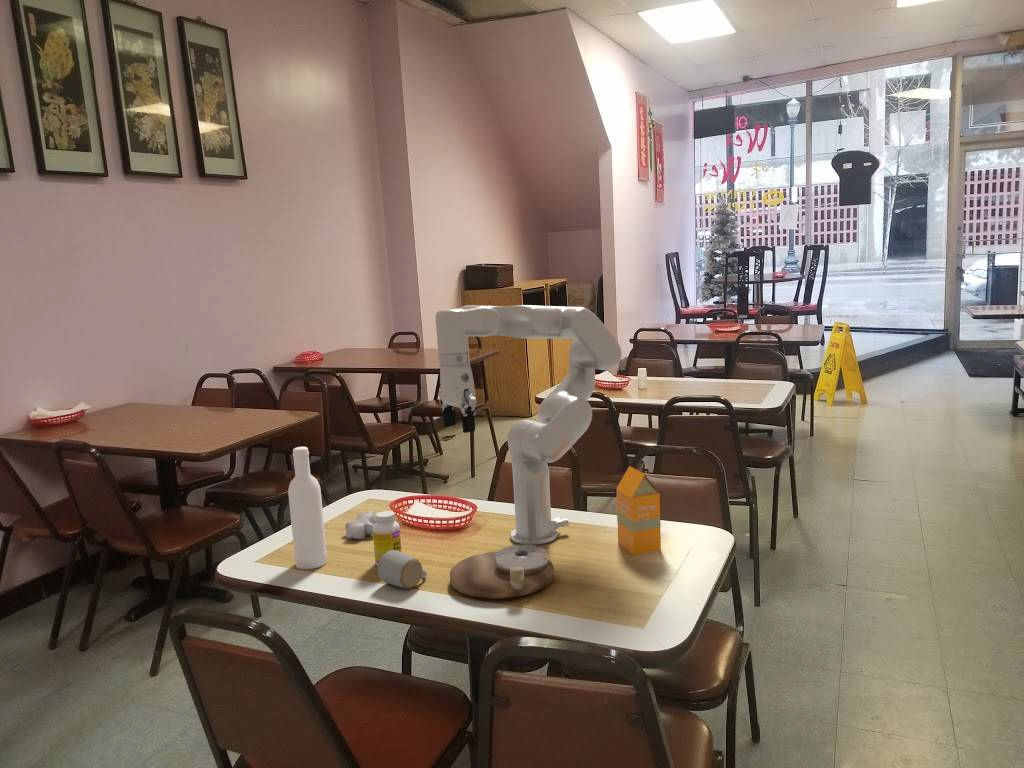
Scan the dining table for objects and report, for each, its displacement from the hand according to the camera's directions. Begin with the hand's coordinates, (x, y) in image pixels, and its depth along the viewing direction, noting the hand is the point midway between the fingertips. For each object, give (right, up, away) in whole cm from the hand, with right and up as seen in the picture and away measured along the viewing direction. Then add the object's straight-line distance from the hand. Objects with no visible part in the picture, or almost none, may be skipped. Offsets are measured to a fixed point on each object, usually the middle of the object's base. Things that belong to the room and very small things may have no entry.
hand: (459, 428), depth 191 cm
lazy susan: (+11, -34, -12) cm, 38 cm away
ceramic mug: (-12, -36, -10) cm, 39 cm away
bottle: (-38, -35, +5) cm, 51 cm away
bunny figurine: (-28, -31, +27) cm, 49 cm away
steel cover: (+15, -31, -10) cm, 36 cm away
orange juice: (+45, -30, +5) cm, 55 cm away
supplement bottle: (-18, -34, +3) cm, 38 cm away
